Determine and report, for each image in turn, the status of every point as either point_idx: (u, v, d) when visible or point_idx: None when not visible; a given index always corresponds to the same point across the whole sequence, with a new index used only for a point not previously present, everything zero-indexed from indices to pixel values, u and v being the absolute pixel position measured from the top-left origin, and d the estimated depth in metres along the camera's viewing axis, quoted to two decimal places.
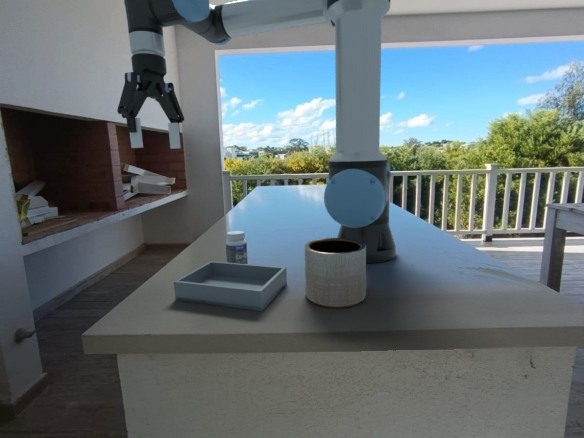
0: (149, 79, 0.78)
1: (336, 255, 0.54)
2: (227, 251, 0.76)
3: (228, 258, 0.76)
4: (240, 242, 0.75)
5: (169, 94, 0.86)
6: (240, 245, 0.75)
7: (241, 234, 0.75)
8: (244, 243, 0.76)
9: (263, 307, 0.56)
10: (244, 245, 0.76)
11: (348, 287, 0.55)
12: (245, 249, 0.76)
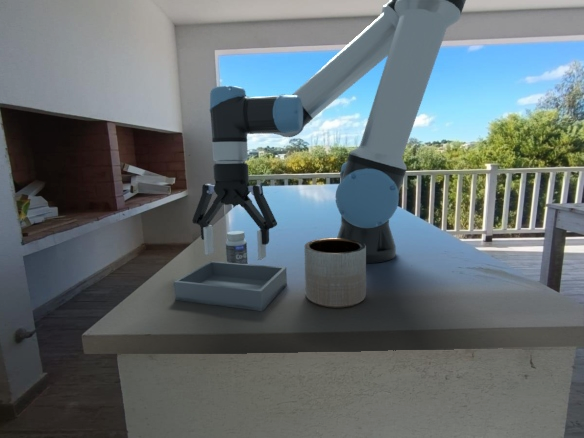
0: (222, 188, 0.74)
1: (336, 255, 0.54)
2: (227, 251, 0.76)
3: (228, 258, 0.76)
4: (240, 242, 0.75)
5: None
6: (240, 245, 0.75)
7: (241, 234, 0.75)
8: (244, 243, 0.76)
9: (263, 307, 0.56)
10: (244, 245, 0.76)
11: (348, 287, 0.55)
12: (245, 249, 0.76)
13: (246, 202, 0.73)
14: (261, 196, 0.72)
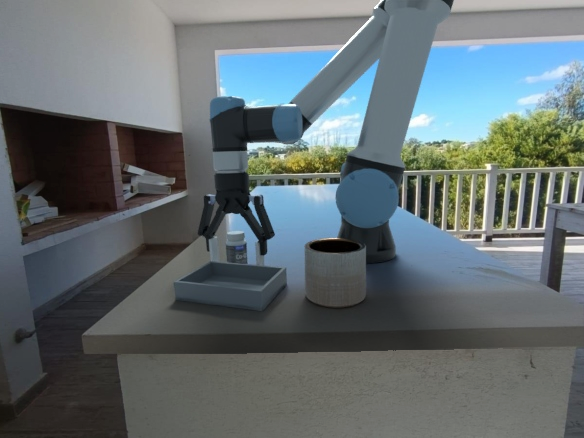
0: (223, 196, 0.74)
1: (336, 255, 0.54)
2: (227, 251, 0.76)
3: (228, 258, 0.76)
4: (240, 242, 0.75)
5: None
6: (240, 245, 0.75)
7: (241, 234, 0.75)
8: (244, 243, 0.76)
9: (263, 307, 0.56)
10: (244, 245, 0.76)
11: (348, 287, 0.55)
12: (245, 249, 0.76)
13: (246, 212, 0.73)
14: (261, 207, 0.73)
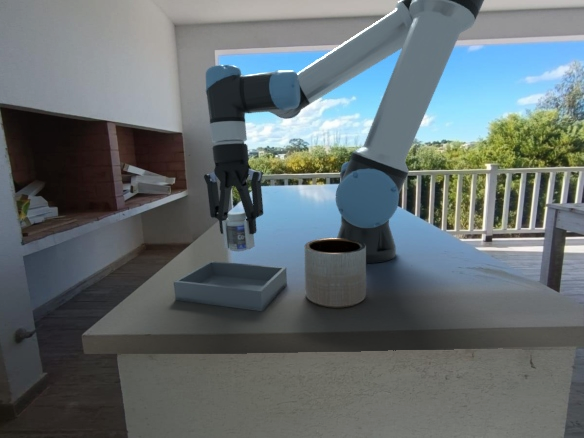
0: (221, 167, 0.73)
1: (336, 255, 0.54)
2: (228, 232, 0.75)
3: (230, 239, 0.75)
4: (241, 222, 0.74)
5: None
6: (242, 225, 0.74)
7: (242, 214, 0.74)
8: None
9: (263, 307, 0.56)
10: None
11: (348, 287, 0.55)
12: None
13: (242, 187, 0.73)
14: (258, 183, 0.72)
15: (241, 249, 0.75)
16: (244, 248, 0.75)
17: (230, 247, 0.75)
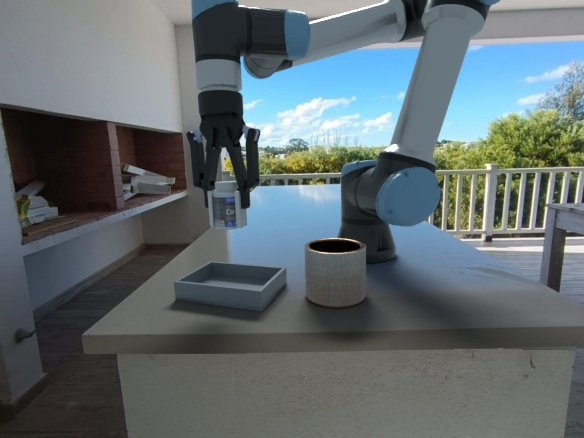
0: (208, 123, 0.58)
1: (336, 255, 0.54)
2: (215, 205, 0.59)
3: (216, 214, 0.59)
4: (232, 193, 0.59)
5: None
6: (232, 196, 0.59)
7: (233, 183, 0.59)
8: None
9: (263, 307, 0.56)
10: None
11: (348, 287, 0.55)
12: None
13: (234, 148, 0.57)
14: (254, 144, 0.57)
15: (230, 227, 0.59)
16: (234, 226, 0.60)
17: (216, 224, 0.60)
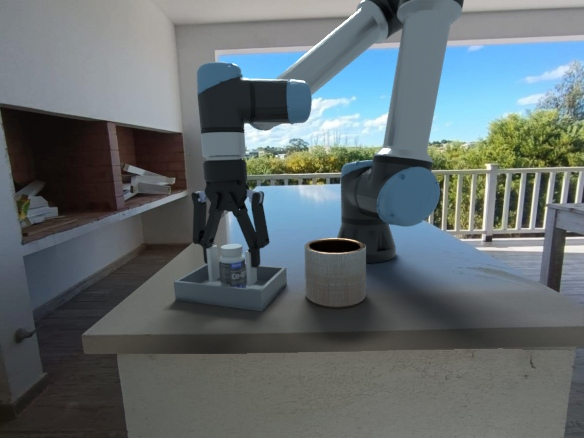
0: (214, 188, 0.60)
1: (336, 255, 0.54)
2: (220, 269, 0.62)
3: (222, 278, 0.62)
4: (237, 258, 0.61)
5: None
6: (237, 262, 0.61)
7: (238, 248, 0.61)
8: (242, 259, 0.62)
9: (263, 307, 0.56)
10: (242, 262, 0.62)
11: (348, 287, 0.55)
12: (243, 267, 0.62)
13: (240, 212, 0.59)
14: (260, 207, 0.59)
15: None
16: None
17: None
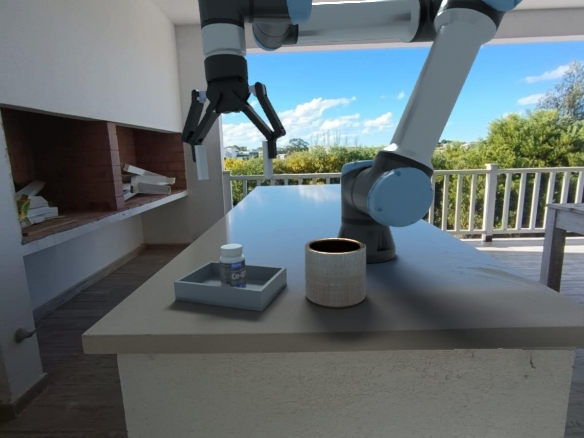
0: (216, 91, 0.60)
1: (336, 255, 0.54)
2: (220, 270, 0.62)
3: (222, 278, 0.62)
4: (237, 258, 0.61)
5: None
6: (237, 262, 0.61)
7: (238, 248, 0.61)
8: (242, 259, 0.62)
9: (263, 307, 0.56)
10: (242, 262, 0.62)
11: (348, 287, 0.55)
12: (243, 267, 0.62)
13: (247, 106, 0.59)
14: (265, 97, 0.58)
15: None
16: None
17: None
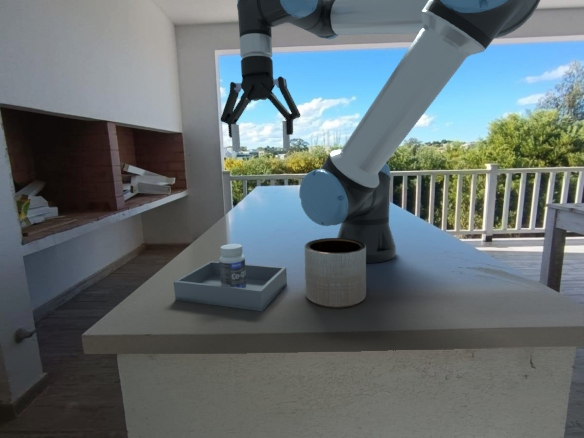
0: (249, 83, 0.80)
1: (336, 255, 0.54)
2: (220, 270, 0.62)
3: (222, 278, 0.62)
4: (237, 258, 0.61)
5: None
6: (237, 262, 0.61)
7: (238, 248, 0.61)
8: (242, 259, 0.62)
9: (263, 307, 0.56)
10: (242, 262, 0.62)
11: (348, 287, 0.55)
12: (243, 267, 0.62)
13: (271, 94, 0.79)
14: (285, 88, 0.78)
15: None
16: None
17: None
